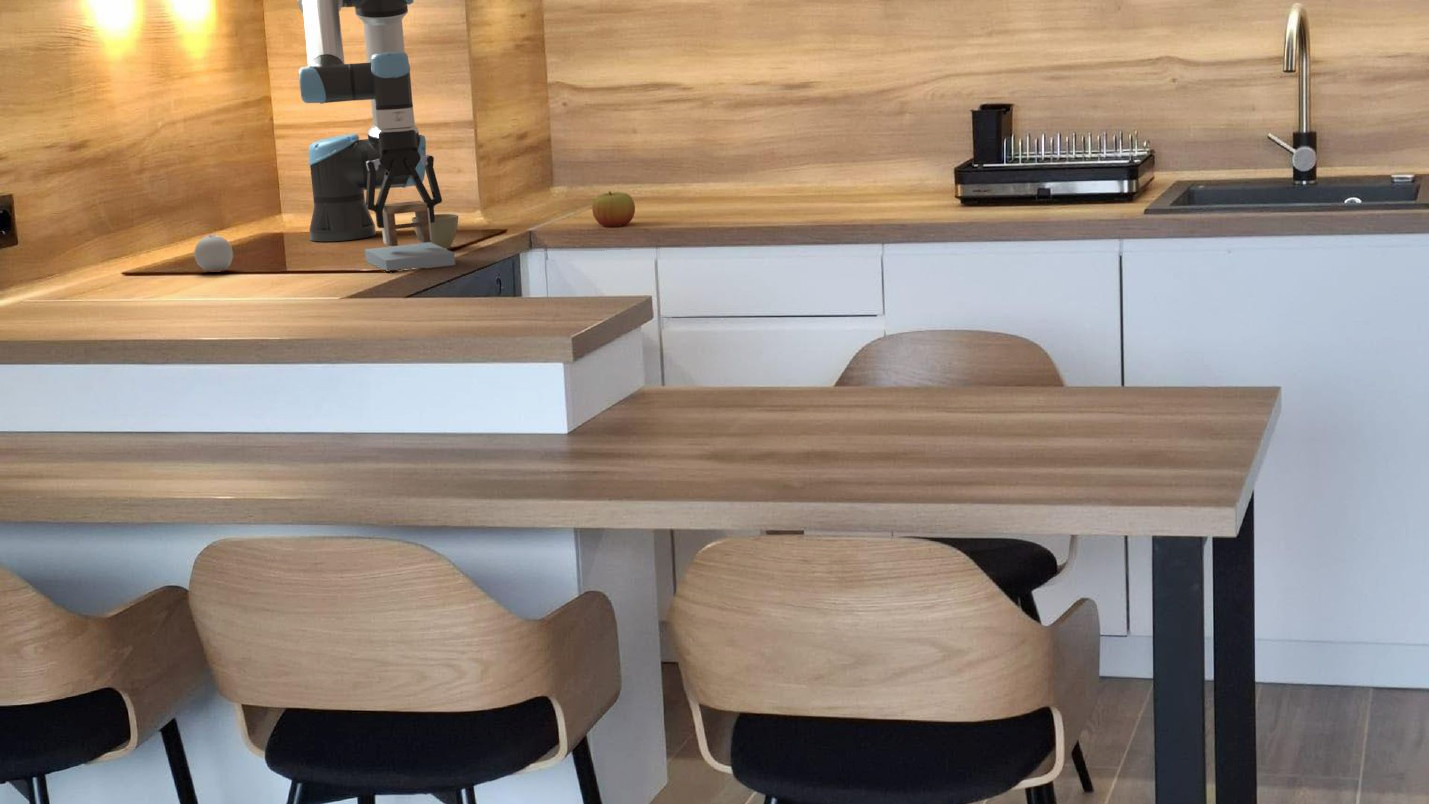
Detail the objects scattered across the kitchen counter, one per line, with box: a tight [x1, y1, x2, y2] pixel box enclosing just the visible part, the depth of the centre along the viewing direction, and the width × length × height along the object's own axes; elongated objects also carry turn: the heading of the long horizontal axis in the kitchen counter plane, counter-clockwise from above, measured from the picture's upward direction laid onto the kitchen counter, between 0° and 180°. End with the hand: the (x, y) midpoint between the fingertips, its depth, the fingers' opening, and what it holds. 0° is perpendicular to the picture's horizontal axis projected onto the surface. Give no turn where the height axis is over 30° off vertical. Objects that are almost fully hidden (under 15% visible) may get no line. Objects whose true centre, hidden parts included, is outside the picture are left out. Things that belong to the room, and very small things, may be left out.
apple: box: [591, 190, 636, 228], centre depth 398 cm, size 10×10×8 cm
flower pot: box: [411, 213, 459, 249], centre depth 376 cm, size 10×10×7 cm
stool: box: [383, 200, 430, 247], centre depth 357 cm, size 8×6×8 cm
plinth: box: [364, 242, 456, 271], centre depth 359 cm, size 20×14×2 cm
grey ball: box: [193, 233, 234, 271], centre depth 362 cm, size 8×8×8 cm
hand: (407, 241), depth 358 cm, fingers closed on stool, 8 cm apart
